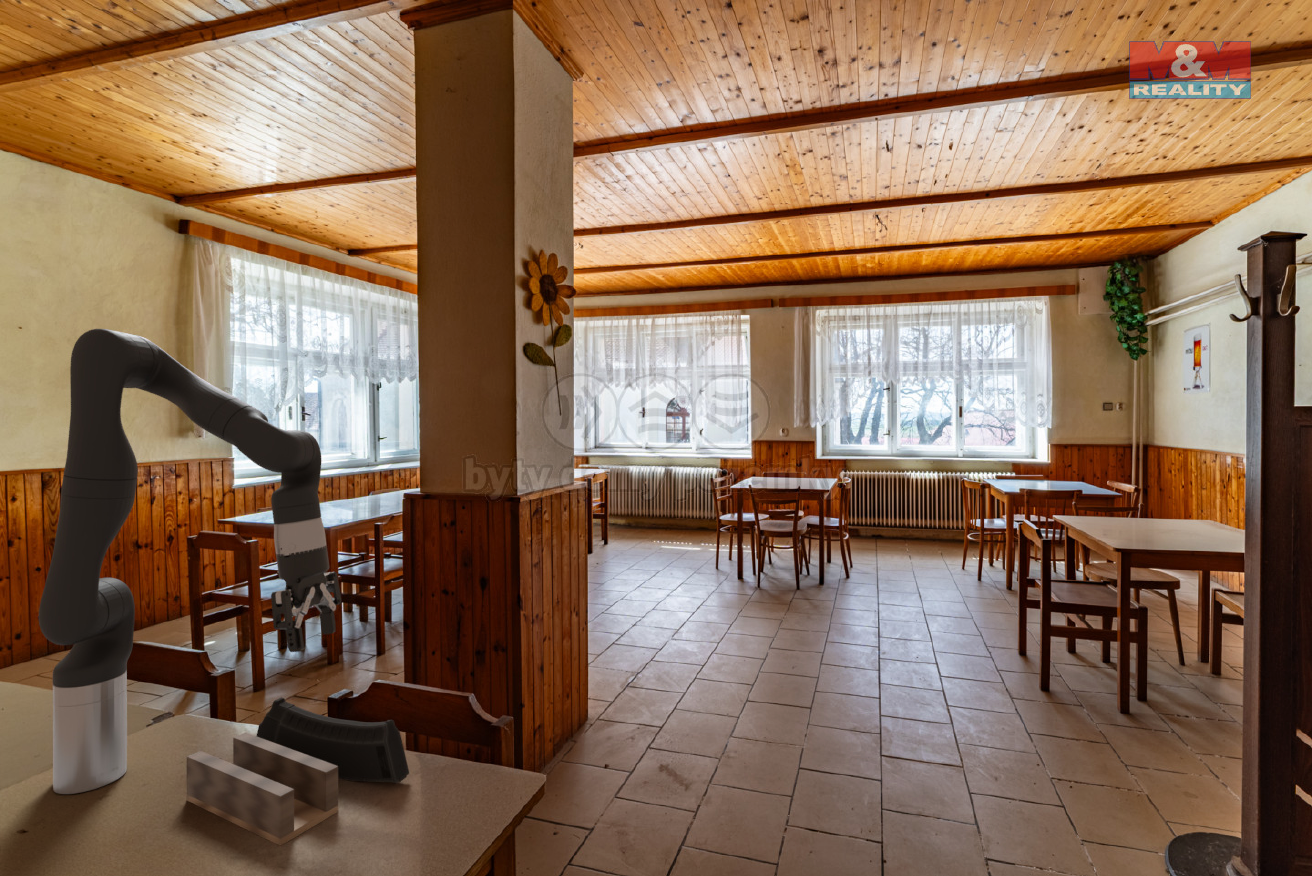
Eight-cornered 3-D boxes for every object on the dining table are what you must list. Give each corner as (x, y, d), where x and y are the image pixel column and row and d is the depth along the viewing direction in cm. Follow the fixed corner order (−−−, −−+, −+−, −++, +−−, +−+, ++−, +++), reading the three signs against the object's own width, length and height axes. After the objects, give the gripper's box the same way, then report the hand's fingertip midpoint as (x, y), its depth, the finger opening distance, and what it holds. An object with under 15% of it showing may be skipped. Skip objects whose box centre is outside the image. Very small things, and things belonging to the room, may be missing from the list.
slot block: (186, 800, 99) (186, 756, 99) (245, 772, 107) (245, 732, 107) (280, 845, 88) (280, 796, 88) (338, 811, 96) (338, 766, 96)
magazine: (422, 729, 104) (287, 658, 113) (408, 738, 101) (271, 665, 110) (397, 822, 106) (266, 745, 114) (383, 833, 103) (250, 754, 111)
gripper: (308, 541, 114) (319, 630, 114) (249, 558, 99) (262, 659, 100) (346, 537, 113) (358, 626, 113) (293, 553, 99) (306, 655, 99)
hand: (313, 641), depth 106 cm, fingers open, 8 cm apart
